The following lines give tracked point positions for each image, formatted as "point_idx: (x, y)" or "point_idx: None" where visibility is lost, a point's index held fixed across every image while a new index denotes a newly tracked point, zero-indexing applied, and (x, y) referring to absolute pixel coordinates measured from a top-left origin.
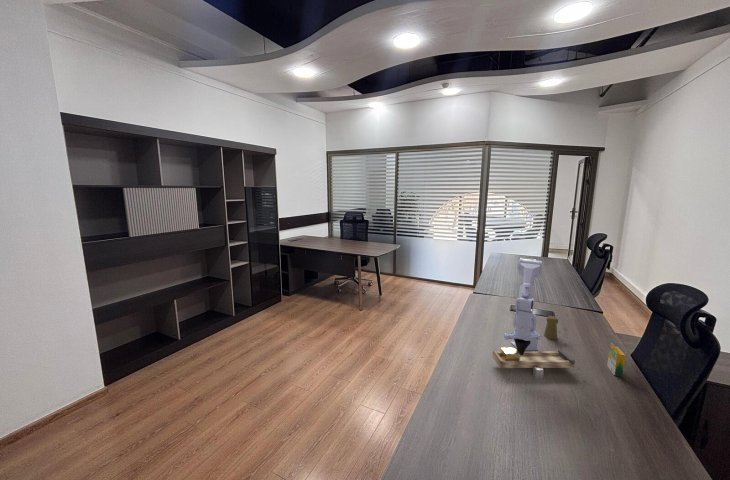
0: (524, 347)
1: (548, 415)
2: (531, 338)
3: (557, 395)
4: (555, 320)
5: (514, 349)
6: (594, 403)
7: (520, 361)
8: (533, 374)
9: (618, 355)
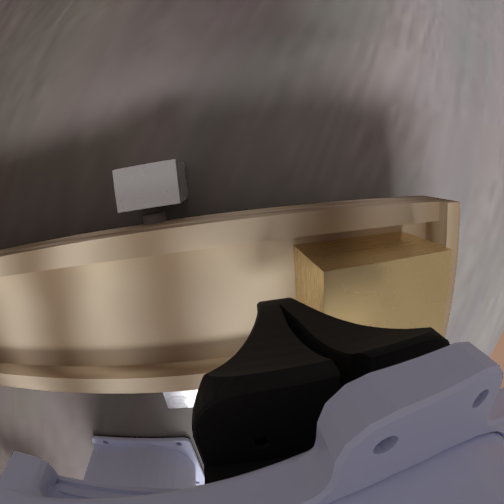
0: (283, 338)
1: None
2: (170, 495)
3: (133, 24)
4: None
5: None
6: (11, 30)
7: (303, 223)
8: (186, 191)
9: None
